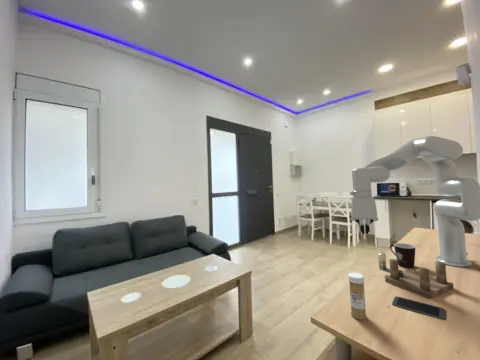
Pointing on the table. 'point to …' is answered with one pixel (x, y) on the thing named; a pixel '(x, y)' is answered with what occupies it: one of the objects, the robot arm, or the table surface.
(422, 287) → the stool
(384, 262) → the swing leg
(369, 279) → the table surface
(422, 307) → the cell phone
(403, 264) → the coffee mug
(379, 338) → the table surface
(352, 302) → the sprinkles bottle
